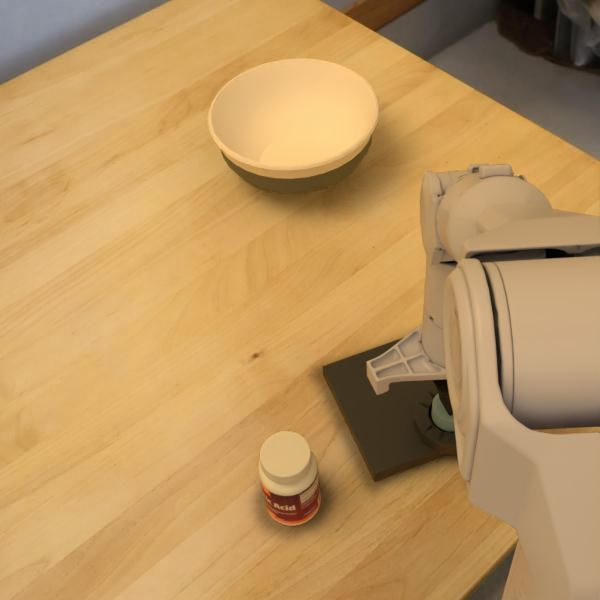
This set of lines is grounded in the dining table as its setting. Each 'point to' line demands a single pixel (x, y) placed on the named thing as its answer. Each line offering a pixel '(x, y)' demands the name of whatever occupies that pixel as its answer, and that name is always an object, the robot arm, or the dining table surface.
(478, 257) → the robot arm
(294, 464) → the pill bottle
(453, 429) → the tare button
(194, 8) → the dining table surface
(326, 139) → the bowl
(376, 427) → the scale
